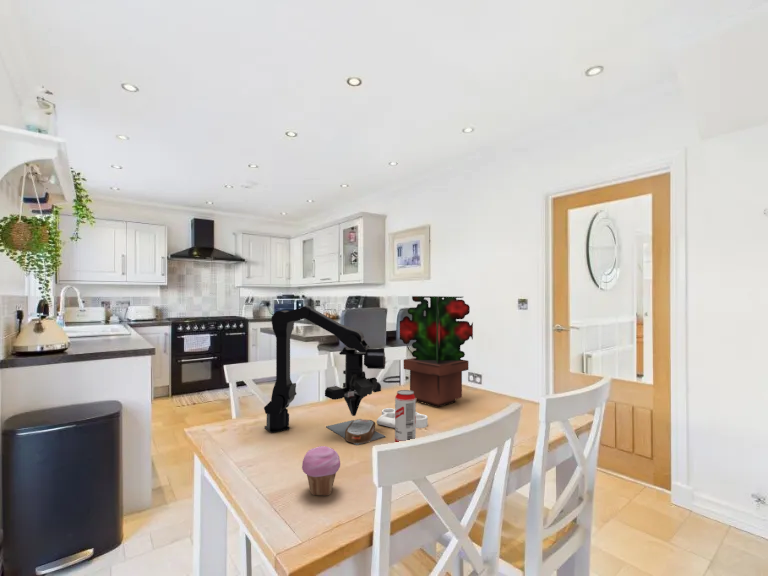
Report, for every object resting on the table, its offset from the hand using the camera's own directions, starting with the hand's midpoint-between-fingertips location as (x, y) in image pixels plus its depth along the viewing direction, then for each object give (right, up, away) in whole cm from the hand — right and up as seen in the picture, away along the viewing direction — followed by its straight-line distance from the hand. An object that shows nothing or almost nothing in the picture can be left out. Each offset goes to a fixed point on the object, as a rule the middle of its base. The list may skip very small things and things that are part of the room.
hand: (353, 415), depth 123 cm
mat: (0, -6, 0) cm, 6 cm away
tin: (-2, -3, -2) cm, 4 cm away
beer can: (+16, -6, -10) cm, 20 cm away
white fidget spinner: (+16, -7, +10) cm, 20 cm away
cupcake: (-4, -5, -37) cm, 38 cm away
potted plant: (+32, -7, +37) cm, 49 cm away
